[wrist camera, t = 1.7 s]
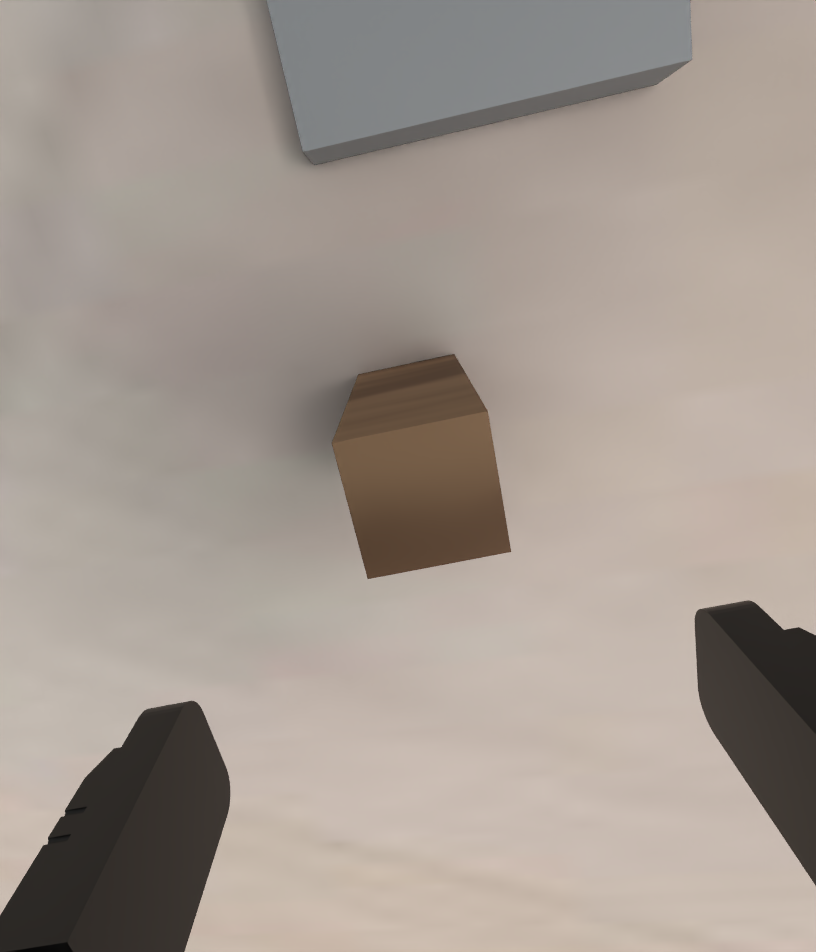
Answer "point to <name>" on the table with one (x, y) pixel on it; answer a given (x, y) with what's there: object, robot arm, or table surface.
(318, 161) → the grey board
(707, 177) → the table surface
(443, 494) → the walnut block
